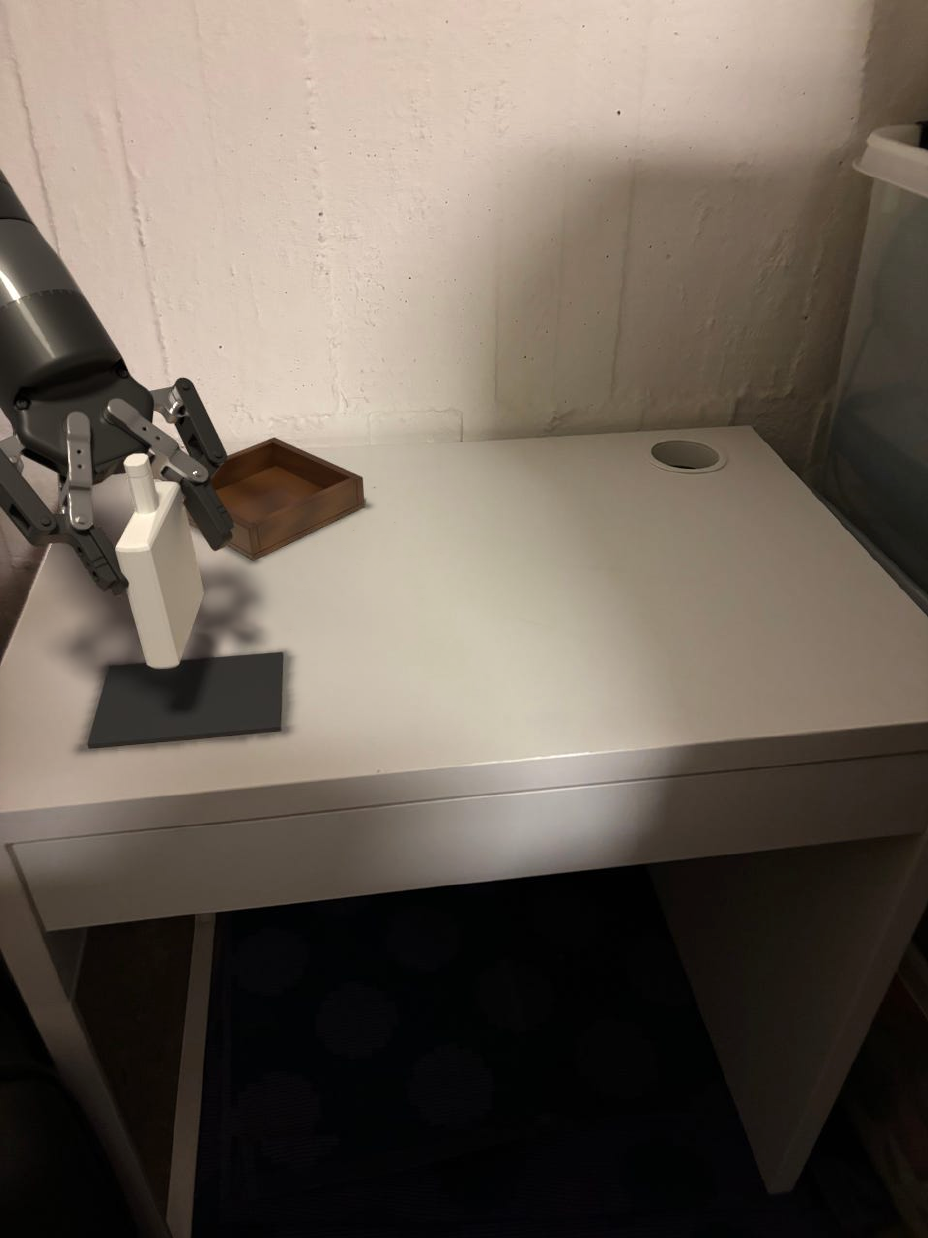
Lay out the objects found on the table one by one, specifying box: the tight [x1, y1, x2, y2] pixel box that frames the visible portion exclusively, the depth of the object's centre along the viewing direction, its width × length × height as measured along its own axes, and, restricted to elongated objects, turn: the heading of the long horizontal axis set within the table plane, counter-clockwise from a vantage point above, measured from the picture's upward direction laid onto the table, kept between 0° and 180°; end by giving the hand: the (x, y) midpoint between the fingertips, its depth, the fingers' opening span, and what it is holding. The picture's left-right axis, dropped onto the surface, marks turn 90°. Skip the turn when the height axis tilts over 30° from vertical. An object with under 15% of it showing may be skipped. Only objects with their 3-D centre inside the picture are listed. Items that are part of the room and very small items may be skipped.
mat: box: [87, 651, 284, 749], centre depth 62 cm, size 12×8×1 cm, turn 98°
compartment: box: [183, 436, 366, 561], centre depth 83 cm, size 13×13×3 cm
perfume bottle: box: [115, 454, 205, 669], centre depth 56 cm, size 8×2×12 cm, turn 1°
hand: (176, 565), depth 55 cm, fingers closed on perfume bottle, 6 cm apart
